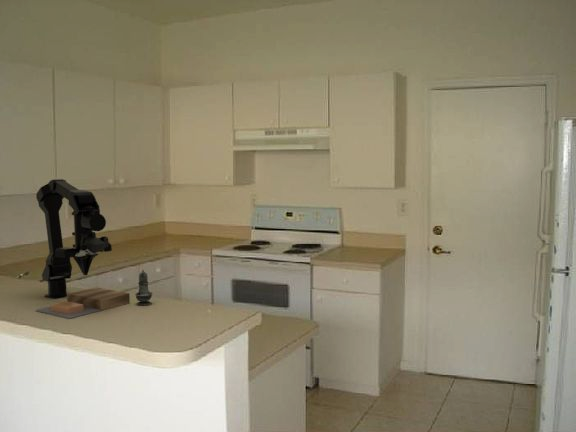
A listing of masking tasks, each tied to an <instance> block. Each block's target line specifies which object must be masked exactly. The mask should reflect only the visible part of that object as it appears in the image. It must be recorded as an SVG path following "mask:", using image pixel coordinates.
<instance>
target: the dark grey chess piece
mask: <svg viewBox="0 0 576 432" xmlns="http://www.w3.org/2000/svg"><path fill="white" fill-rule="evenodd" d="M148 280H149V279H148V273H147V272H146V271H144V269H142V271H141V272H140V273H139V274H138V281H139V282H137V284H138V288H139V289H138V292H136V293H135V294H134V296H135V297H136V300H137V301H138V302H137V303H136V304H135V305H136V306H139V307H145V306H146V307H147V306H150V305H152V304H153V303H152V302H151V301H150V300H152V296H153V292H150V290H149V281H148Z"/></svg>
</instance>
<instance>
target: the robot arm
mask: <svg viewBox="0 0 576 432" xmlns="http://www.w3.org/2000/svg"><path fill="white" fill-rule="evenodd" d="M35 195H36V201H37V202H38V207H39V209H41V212H43V213H44V219H45V226H46V227H45V229H46V235H47V242H48V243H47V244H48V249H49V253H48V255H47V257H46V259H45V267H44V269H43V270H42V271H43V272H42V273H41V278H42V281H44V282H47V289H48V291H47V293H48V294H44V297H48V298H51V299H58V298H63V297H67V293H68V292H67V280H68V279H71V277H72V269H73V266H72V263H71V258H73V260H74V261H75V262H76V264H77V266H78V268H79V269H80V271H81V274H82V275H83V276H88V273H89V270H90V268H91V264H92V262H93V260H94V259H95V258H96V257H97V256H99V253H103V252H105V253H106V252H112V251H113V248H112V247H113V245H112V244H111V243H110V242H109V241H110V240H109V237H108V236H100V237H97V236H96V235H97V234H96V232H100V231H103V230H104V229H105V227H106V224H107V220H106V218H105V217H104V215H103V214H101V208H100V205H99V203H98V201H97V199H96V196H95V194H94V193H93V192H92V191H89V190H84V189H82V190H81V189H79V188H78V187H75V186H74V185H72V184H70V183H69V182H67V180H66V179H63V178H62V179H61V178H59V179H57V178H56V179H52V180H50V181H49V182H48V183H47V184H46V183H45V184H44V185H42V186H40V188H39V189H38V191H37V192H36V194H35ZM64 199H66V200H68V205H69V207H70V208H71V209H72V212H71V215H72V216H73V224H74V225H73V227H74V228H73V229H74V231H73V232H72V233H71V235H72V236H74V244H72V247H69V246H66V247H65V246H64V244H63V235H62V234H63V233H62V228H61V220H60V210H61V209H62V205H63V200H64Z"/></svg>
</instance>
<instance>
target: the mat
mask: <svg viewBox="0 0 576 432" xmlns="http://www.w3.org/2000/svg"><path fill="white" fill-rule="evenodd" d="M83 307H84V311H80V312H76V313H72V314H69V315H67V314H63V313H58V312H54V311H51V310H50V306H47V307H44V308H43V307H42V308H39V309H36V310H35V312H38V313H43V314H46V315H51V316H55V317H59V318H64V319H68V320H71V319H75V318H79V317H83V316H86V315H90V314H94V313H99V312H102V311H101V310H100V309H95V308H90V307H86V306H83Z"/></svg>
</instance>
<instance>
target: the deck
mask: <svg viewBox="0 0 576 432" xmlns="http://www.w3.org/2000/svg"><path fill="white" fill-rule="evenodd" d="M66 298H67V300H66V301H68V302H73V303H78V304H83V306H86V307H90V308H95V309H100V310H101V311H100V312H102V311H106V310H108V309H109V310H110V309H113V308H117V307H120V306H123V305H127V304H130V303H131V302H130V298H131V297H130V292H124V291H118V290H114V289H106V288H102V287H98V286H97V287H91V288H85V289H82V290H78V291H73V292H69V293H68V292H67V296H66Z"/></svg>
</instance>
